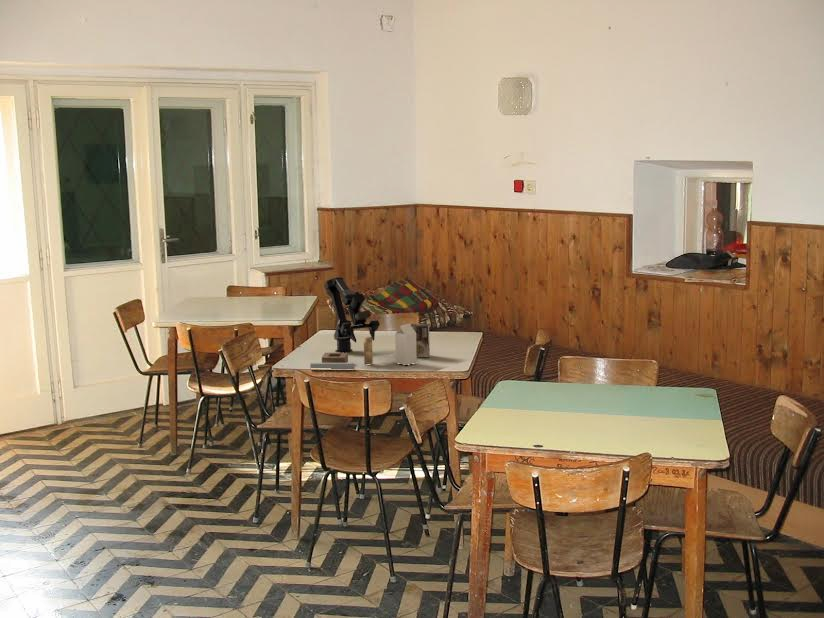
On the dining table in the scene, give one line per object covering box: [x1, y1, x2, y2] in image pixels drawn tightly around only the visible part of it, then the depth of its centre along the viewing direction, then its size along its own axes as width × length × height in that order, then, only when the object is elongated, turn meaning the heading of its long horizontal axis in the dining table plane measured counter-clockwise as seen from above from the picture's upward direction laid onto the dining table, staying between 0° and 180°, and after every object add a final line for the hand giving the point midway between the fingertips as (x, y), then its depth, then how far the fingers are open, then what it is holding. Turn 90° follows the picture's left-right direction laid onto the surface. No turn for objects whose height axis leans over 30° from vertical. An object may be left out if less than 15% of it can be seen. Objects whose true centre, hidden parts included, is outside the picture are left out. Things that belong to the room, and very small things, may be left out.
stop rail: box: [309, 362, 355, 370], centre depth 445 cm, size 2×20×4 cm, turn 87°
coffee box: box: [410, 323, 431, 358], centre depth 469 cm, size 9×6×16 cm
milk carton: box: [394, 323, 418, 366], centre depth 454 cm, size 7×7×19 cm
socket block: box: [321, 352, 349, 363], centre depth 455 cm, size 11×11×5 cm
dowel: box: [363, 336, 374, 364], centre depth 455 cm, size 4×4×13 cm
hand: (364, 341), depth 458 cm, fingers open, 9 cm apart
